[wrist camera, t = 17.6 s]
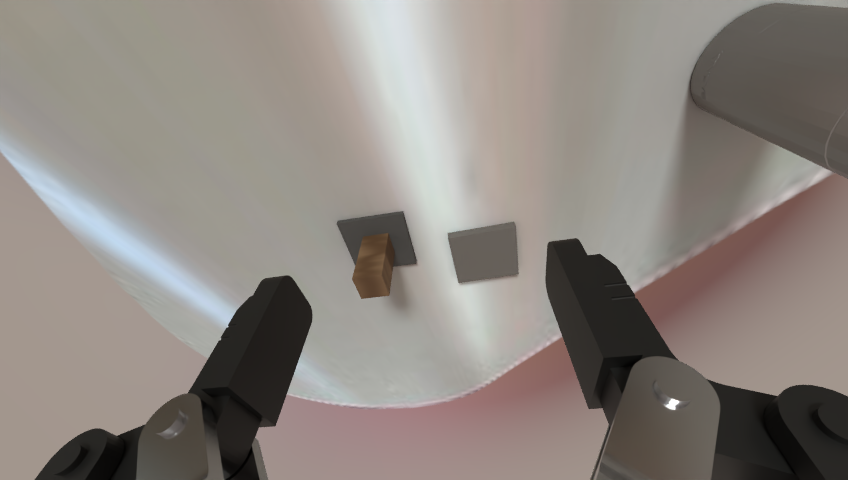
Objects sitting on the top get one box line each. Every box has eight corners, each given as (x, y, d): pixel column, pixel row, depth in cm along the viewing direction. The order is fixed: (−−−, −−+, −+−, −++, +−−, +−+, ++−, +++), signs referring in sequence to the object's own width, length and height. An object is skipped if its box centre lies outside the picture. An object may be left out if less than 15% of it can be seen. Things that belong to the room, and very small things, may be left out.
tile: (515, 226, 42) (518, 274, 48) (513, 219, 43) (516, 266, 49) (448, 238, 43) (458, 283, 49) (447, 231, 45) (457, 275, 50)
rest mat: (402, 211, 42) (402, 213, 41) (416, 260, 48) (416, 263, 47) (337, 221, 43) (336, 223, 43) (358, 268, 49) (357, 271, 48)
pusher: (388, 233, 44) (381, 275, 37) (394, 252, 46) (389, 295, 40) (363, 236, 44) (352, 278, 38) (370, 255, 46) (361, 298, 40)
